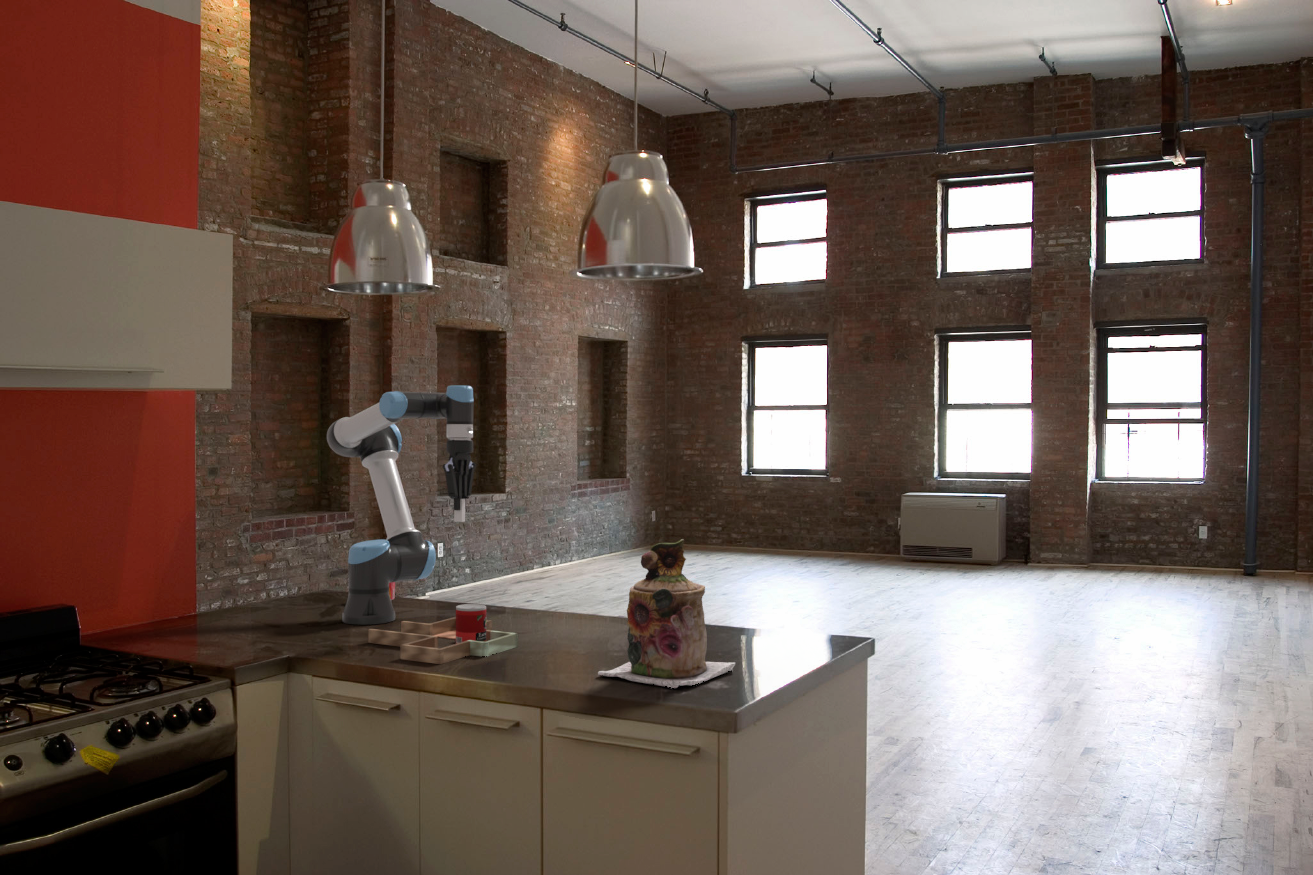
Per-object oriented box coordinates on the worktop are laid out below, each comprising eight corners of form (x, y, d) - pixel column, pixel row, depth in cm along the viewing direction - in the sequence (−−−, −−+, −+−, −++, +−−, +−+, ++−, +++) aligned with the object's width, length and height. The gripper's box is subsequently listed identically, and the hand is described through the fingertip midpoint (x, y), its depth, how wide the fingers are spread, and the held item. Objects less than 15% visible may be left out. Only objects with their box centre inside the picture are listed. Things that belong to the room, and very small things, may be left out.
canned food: (481, 651, 284) (482, 609, 283) (451, 650, 284) (451, 608, 284) (489, 645, 291) (489, 604, 291) (460, 644, 292) (460, 603, 292)
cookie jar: (653, 659, 276) (653, 531, 276) (738, 671, 263) (739, 537, 262) (593, 677, 256) (594, 540, 255) (683, 692, 242) (684, 547, 242)
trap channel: (336, 650, 284) (336, 637, 284) (431, 626, 318) (431, 614, 318) (456, 666, 267) (456, 651, 267) (542, 638, 301) (542, 625, 301)
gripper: (456, 439, 309) (456, 524, 309) (484, 439, 320) (483, 520, 321) (435, 439, 312) (434, 522, 312) (463, 438, 324) (462, 519, 324)
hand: (459, 521), depth 316 cm, fingers closed
